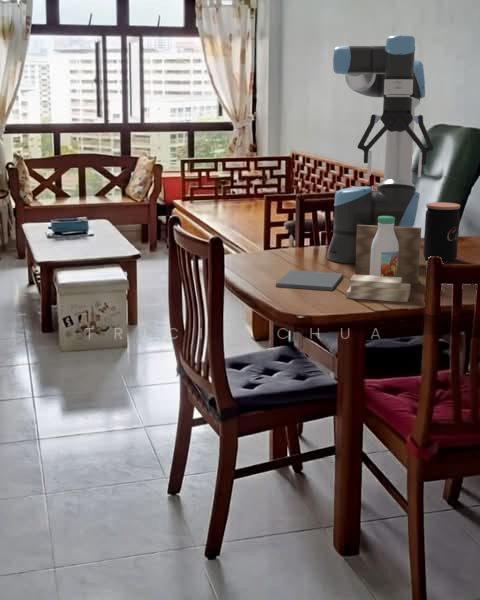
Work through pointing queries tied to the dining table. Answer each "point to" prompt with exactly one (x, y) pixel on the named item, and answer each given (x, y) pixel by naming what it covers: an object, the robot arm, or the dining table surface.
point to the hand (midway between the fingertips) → (394, 176)
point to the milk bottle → (384, 249)
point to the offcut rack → (382, 285)
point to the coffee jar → (441, 230)
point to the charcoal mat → (310, 280)
